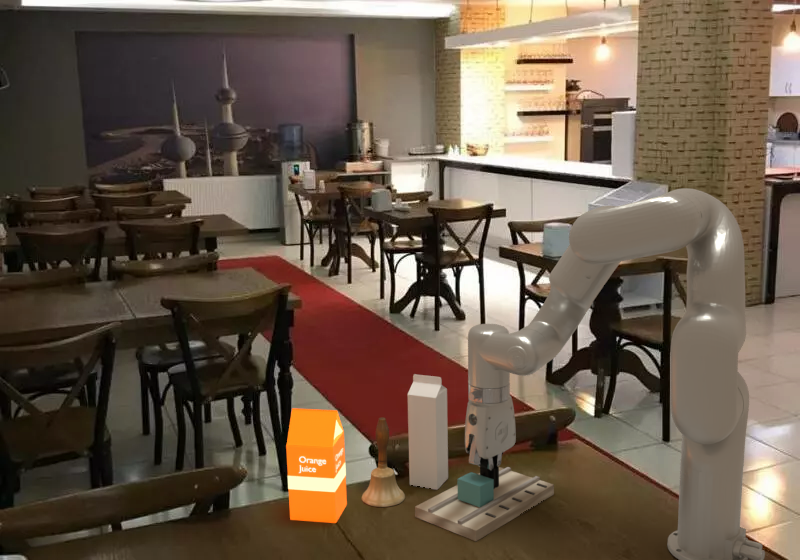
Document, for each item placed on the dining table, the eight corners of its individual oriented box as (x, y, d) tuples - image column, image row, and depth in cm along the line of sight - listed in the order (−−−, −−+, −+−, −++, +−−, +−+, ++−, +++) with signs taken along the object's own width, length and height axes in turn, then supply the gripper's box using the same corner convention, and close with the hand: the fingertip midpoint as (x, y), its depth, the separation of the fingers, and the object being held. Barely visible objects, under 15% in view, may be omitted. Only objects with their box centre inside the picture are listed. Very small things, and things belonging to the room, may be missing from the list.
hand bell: (376, 485, 169) (374, 408, 166) (413, 493, 164) (411, 415, 161) (353, 501, 162) (350, 422, 159) (390, 511, 157) (388, 429, 154)
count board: (553, 494, 163) (553, 481, 162) (476, 541, 145) (475, 527, 145) (494, 474, 172) (494, 462, 172) (415, 516, 155) (414, 503, 154)
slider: (493, 499, 156) (493, 479, 155) (480, 507, 153) (480, 486, 152) (471, 491, 159) (471, 471, 158) (457, 499, 156) (457, 478, 156)
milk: (421, 474, 173) (418, 369, 169) (448, 478, 171) (447, 372, 167) (409, 485, 168) (406, 378, 164) (437, 490, 166) (435, 381, 162)
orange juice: (336, 523, 153) (331, 417, 149) (289, 520, 155) (283, 415, 151) (347, 504, 161) (343, 403, 157) (302, 501, 163) (297, 401, 159)
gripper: (480, 407, 147) (480, 505, 151) (529, 386, 158) (529, 478, 162) (446, 398, 153) (448, 494, 156) (497, 378, 163) (497, 468, 167)
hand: (489, 486), depth 159 cm, fingers closed
